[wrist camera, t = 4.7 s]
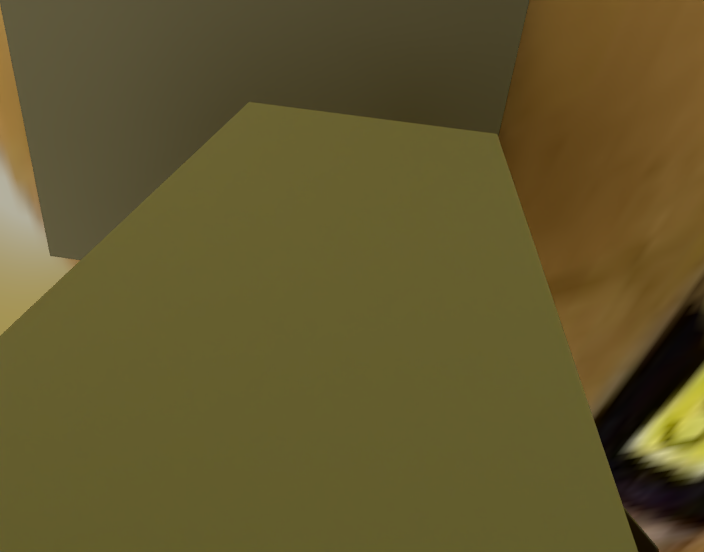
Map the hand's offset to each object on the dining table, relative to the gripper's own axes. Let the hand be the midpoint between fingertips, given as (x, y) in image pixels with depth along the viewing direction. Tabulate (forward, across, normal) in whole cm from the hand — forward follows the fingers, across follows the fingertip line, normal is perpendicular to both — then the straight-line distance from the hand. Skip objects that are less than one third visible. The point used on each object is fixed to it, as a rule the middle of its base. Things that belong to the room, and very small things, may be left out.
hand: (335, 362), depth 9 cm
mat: (+12, +4, 0) cm, 13 cm away
